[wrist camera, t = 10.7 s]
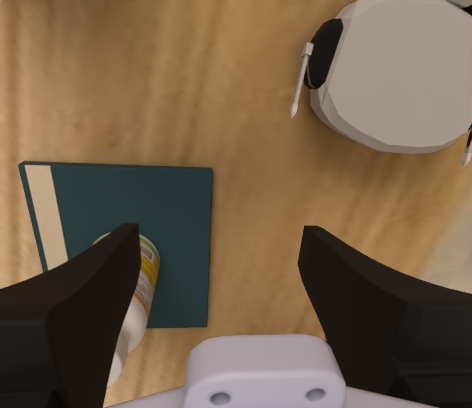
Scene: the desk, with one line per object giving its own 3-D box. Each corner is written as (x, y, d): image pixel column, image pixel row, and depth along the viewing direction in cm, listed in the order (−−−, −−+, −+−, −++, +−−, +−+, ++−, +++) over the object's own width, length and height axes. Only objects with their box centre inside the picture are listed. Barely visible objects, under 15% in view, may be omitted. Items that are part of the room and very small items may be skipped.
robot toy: (354, -163, 17) (272, 119, 22) (406, -245, 13) (289, 127, 17) (535, -77, 19) (423, 160, 24) (630, -122, 15) (471, 176, 20)
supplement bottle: (96, 286, 26) (39, 406, 17) (84, 229, 23) (10, 332, 15) (163, 284, 26) (141, 398, 17) (158, 227, 24) (129, 326, 15)
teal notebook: (206, 320, 29) (207, 328, 29) (60, 323, 28) (56, 331, 27) (212, 167, 23) (212, 171, 22) (23, 160, 22) (16, 164, 21)
